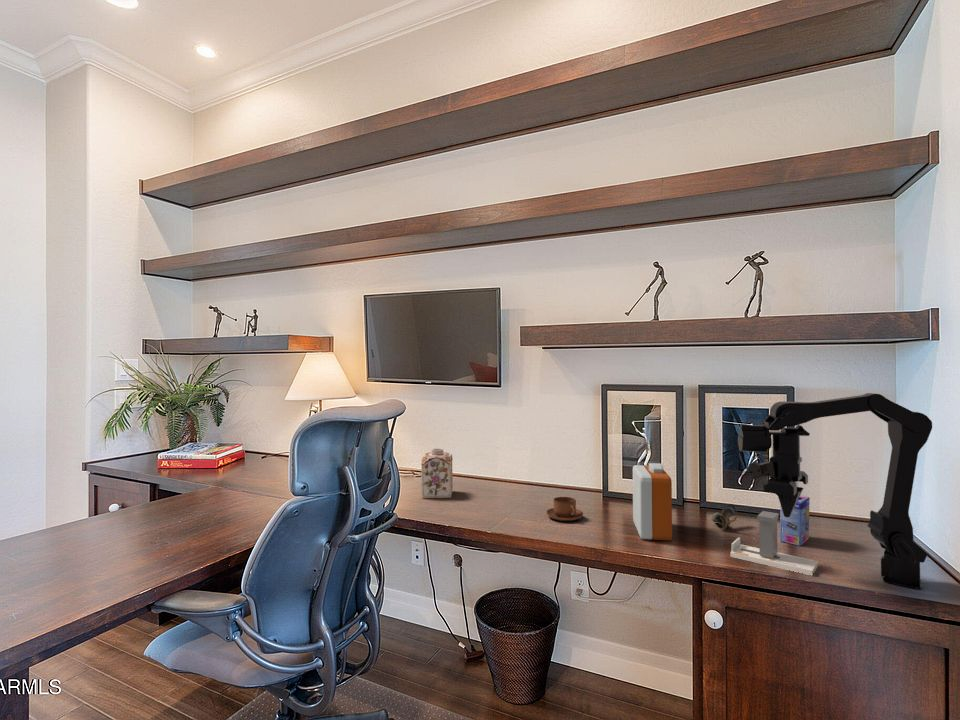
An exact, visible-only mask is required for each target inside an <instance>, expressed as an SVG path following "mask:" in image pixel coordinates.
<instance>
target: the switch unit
mask: <svg viewBox="0 0 960 720" xmlns="http://www.w3.org/2000/svg"><path fill="white" fill-rule="evenodd" d="M730 545H731V547H730V549H731V551H730V558H735V559H740V560H742V561H748V562H752V563H756V564H760V565H765V566H769V567H772V568H778V569H780V570H781V569H782V570H785V571H789V570H790V572H793V571H794V572H793V573H798V572H799V573H798V574H802V573H803V574H802V575H807V576H810V575H811V577H812V576H813V575H814V574H815V572H816V570H817V568H818V566H819V563H818V560H814V559H809V558H805V557H800V556H797V555H792V554H791V555H790V554H787V553H783V552H778V553H777V554H776V556H775V557H774V558H773V559H772V558H768V557H764V556H760V547H754V546H750V545H745V544H741V537H737V538H736V539H735V540H734V541H733V542H732V543H731V544H730ZM813 573H814V574H813Z"/></svg>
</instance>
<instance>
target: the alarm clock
mask: <svg viewBox="0 0 960 720" xmlns="http://www.w3.org/2000/svg"><path fill="white" fill-rule="evenodd" d="M672 481H673V480H672V478H671V476H670V475H669V474H668V473H667V472H666V470H664V465H663V463H657V462H656V463H654V462H651V463H650V462H649V463H648V465H643V464H642V465H641V464H639V465H637V464H635V465H633V466H632V521H633V524H634V525H635V528H636V530H637V532H638V535H639V537H640V539H641V540H651V541H652V540H653V541H672V540H673V539H672V538H673V494H672V493H673V492H672V491H673V490H672V489H673V488H672V487H673V485H672V484H673V483H672Z"/></svg>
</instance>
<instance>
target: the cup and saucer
mask: <svg viewBox="0 0 960 720" xmlns="http://www.w3.org/2000/svg"><path fill="white" fill-rule="evenodd" d="M546 515H547V516H548V517H549V518H551V519H553V520H557V521H561V522H562V521H563V522H570V521H578V520H579V519H581V518H582V517H584V512H583V511H582V510H580V509H578V508H577V500H576V498H573V497H570V496H569V497H568V496H557V497H554V498H553V507H552V508H549V509H547V510H546Z"/></svg>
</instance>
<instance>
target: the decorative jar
mask: <svg viewBox="0 0 960 720" xmlns="http://www.w3.org/2000/svg"><path fill="white" fill-rule="evenodd" d="M420 463H421V466H420V467H421V469H420V472H421V474H420V475H421V477H420V479H421V483H420V485H421V489H420V490H421V499H451V498H452V495H453V473H454V472H453V454H452V453H449V452H444V448H440V447H437V448H432V449H431V452H426V453H423V454H422V456H421V462H420Z"/></svg>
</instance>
